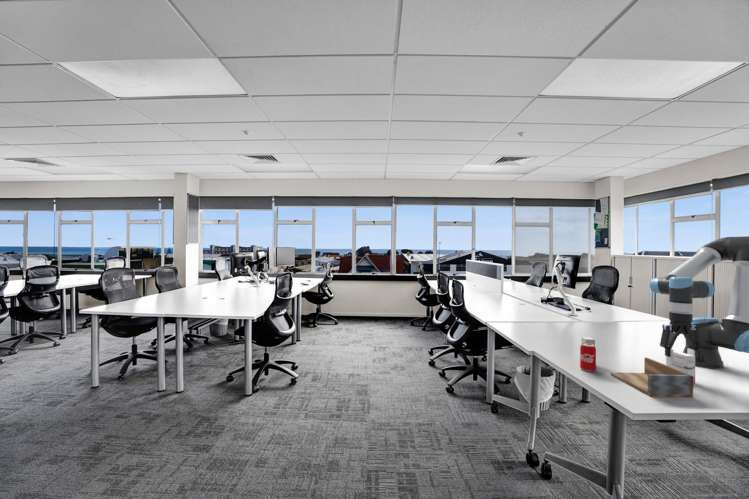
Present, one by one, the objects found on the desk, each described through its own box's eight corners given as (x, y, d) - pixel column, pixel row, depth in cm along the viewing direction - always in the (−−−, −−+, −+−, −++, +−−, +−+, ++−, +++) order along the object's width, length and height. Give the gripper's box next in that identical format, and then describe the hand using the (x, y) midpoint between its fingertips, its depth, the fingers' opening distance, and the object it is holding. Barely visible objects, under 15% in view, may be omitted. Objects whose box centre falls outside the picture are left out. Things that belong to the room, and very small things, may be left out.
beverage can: (577, 367, 157) (577, 342, 157) (589, 367, 157) (589, 342, 157) (586, 372, 151) (586, 346, 151) (599, 372, 151) (599, 346, 151)
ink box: (696, 383, 139) (696, 355, 139) (687, 384, 138) (687, 356, 138) (673, 375, 148) (673, 349, 148) (665, 376, 146) (665, 350, 147)
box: (595, 366, 159) (595, 339, 159) (585, 365, 160) (585, 339, 160) (590, 362, 164) (590, 337, 164) (581, 362, 165) (581, 336, 165)
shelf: (647, 375, 147) (647, 357, 147) (693, 397, 125) (693, 376, 125) (610, 375, 148) (610, 356, 148) (650, 396, 126) (650, 375, 126)
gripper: (697, 310, 146) (697, 361, 146) (648, 310, 147) (648, 360, 147) (714, 314, 139) (714, 367, 139) (663, 313, 140) (662, 366, 139)
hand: (680, 364), depth 143 cm, fingers open, 8 cm apart
